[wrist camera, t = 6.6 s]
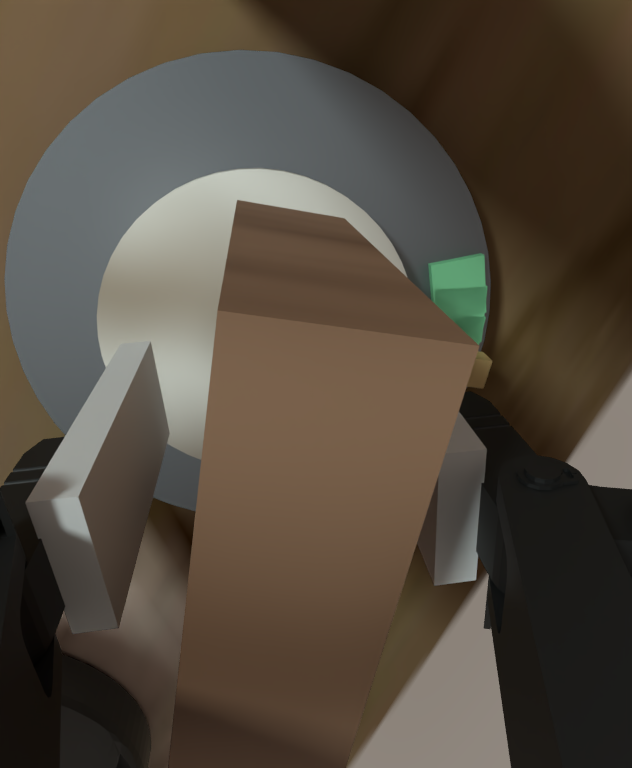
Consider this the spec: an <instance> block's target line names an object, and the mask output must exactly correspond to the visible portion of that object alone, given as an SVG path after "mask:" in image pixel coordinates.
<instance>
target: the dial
mask: <svg viewBox="0 0 632 768" xmlns="http://www.w3.org/2000/svg"><path fill="white" fill-rule="evenodd" d="M97 330H98V340H99V345H100V350H101V355H102V358H103V361H104V364H105V367H107V366H108V364H109V362H110V361H111V359H112V357H113V356H114V354H115V352H116V351H117V349H118V347H119V346H120V344H123V343H134V342H144V341H151V344H152V349H153V354H154V359H155V364H156V369H157V374H158V378H159V383H160V388H161V393H162V398H163V403H164V407H165V412H166V417H167V422H168V427H169V432H170V434H169V438H168V442H167V443H168V444H169V445H170V446H172V447H174V448H176V449H178V450H180V451H182V452H184V453H186V454H188V455H190V456H193V457H195V458H198V459H200V460H201V467H200V477H199V486H198V495H197V504H196V514H195V523H194V532H193V542H192V551H191V560H190V569H189V579H188V588H187V597H186V606H185V616H184V625H183V634H182V643H181V653H180V662H179V671H178V681H177V690H176V699H175V708H174V718H173V727H172V736H171V745H170V755H169V764H168V768H346V765H347V762H348V759H349V756H350V753H351V750H352V746H353V743H354V740H355V737H356V734H357V731H358V728H359V724H360V721H361V718H362V715H363V712H364V709H365V706H366V702H367V699H368V696H369V693H370V690H371V687H372V683H373V680H374V677H375V674H376V671H377V668H378V665H379V661H380V658H381V655H382V652H383V649H384V646H385V642H386V639H387V636H388V633H389V630H390V627H391V624H392V620H393V617H394V614H395V611H396V608H397V605H398V601H399V598H400V595H401V592H402V589H403V586H404V583H405V579H406V576H407V573H408V570H409V567H410V564H411V560H412V557H413V554H414V551H415V548H416V545H417V542H418V538H419V535H420V532H421V529H422V526H423V523H424V519H425V516H426V513H427V510H428V507H429V504H430V501H431V497H432V494H433V491H434V488H435V485H436V482H437V478H438V475H439V472H440V469H441V466H442V463H443V460H444V456H445V453H446V450H447V447H448V444H449V441H450V437H451V434H452V431H453V428H454V425H455V422H456V419H457V415H458V412H459V409H460V406H461V403H462V400H463V396H464V393H465V390H466V387H474V388H482V389H483V388H484V385H485V382H486V379H487V376H488V373H489V370H490V367H491V364H492V360H491V359H490V358H489V357H488V356H487V355H486V354H485V353H484V352H479V351H478V349H479V345H478V344H477V343H476V342H475V341H474V340H473V339H472V338H471V337H469V336H468V335H467V334H466V333H465V332H464V331H463V330H462V329H461V328H460V327H459V326H458V325H457V324H456V323H455V322H454V321H453V320H452V319H450V318H449V317H448V316H447V315H446V314H445V313H444V312H443V311H442V310H441V309H440V308H439V307H438V306H437V305H436V304H435V303H434V302H432V301H431V300H430V299H429V298H428V297H427V296H426V295H425V294H424V293H423V292H422V291H421V290H420V289H419V288H418V287H417V286H416V285H415V284H413V283H412V282H411V281H410V280H409V279H408V278H407V275H406V272H405V269H404V267H403V264H402V262H401V260H400V258H399V256H398V254H397V252H396V250H395V248H394V246H393V245H392V243H391V242H390V240H389V239H388V238H387V236H386V235H385V233H384V232H383V231H382V229H381V228H380V227H379V226H378V225H377V223H376V222H375V221H374V220H373V219H372V218H371V217H370V216H369V215H368V214H367V213H366V212H365V211H364V210H362V209H361V208H360V207H359V206H357V205H356V204H355V203H354V202H352V201H351V200H350V199H348V198H347V197H346V196H344V195H343V194H341V193H339V192H338V191H336V190H334V189H332V188H331V187H329V186H327V185H326V184H324V183H321V182H319V181H316V180H314V179H311V178H309V177H306V176H304V175H300V174H296V173H292V172H288V171H284V170H276V169H267V168H238V169H232V170H226V171H220V172H215V173H212V174H209V175H206V176H203V177H200V178H197V179H194V180H192V181H190V182H188V183H186V184H184V185H182V186H180V187H178V188H176V189H174V190H173V191H171V192H170V193H168V194H167V195H165V196H164V197H162V198H161V199H159V200H158V201H157V202H155V203H154V204H153V205H152V206H151V207H149V208H148V209H147V210H146V211H145V212H144V213H143V214H142V215H141V216H140V217H139V218H138V219H136V221H135V222H134V223H133V224H132V226H131V227H130V228H129V229H128V231H127V232H126V233H125V234H124V235H123V237H122V238H121V240H120V242H119V244H118V245H117V247H116V249H115V250H114V252H113V254H112V255H111V258H110V260H109V263H108V265H107V268H106V270H105V273H104V275H103V279H102V283H101V288H100V292H99V296H98V308H97Z"/></svg>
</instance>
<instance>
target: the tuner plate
mask: <svg viewBox="0 0 632 768" xmlns="http://www.w3.org/2000/svg"><path fill="white" fill-rule="evenodd" d="M238 168H267V169H276V170H284V171H288V172H292V173H296V174H300V175H304V176H306V177H309V178H311V179H314V180H316V181H319V182H321V183H324V184H326V185H327V186H329V187H331V188H332V189H334V190H336V191H338V192H339V193H341V194H343V195H344V196H346V197H347V198H348V199H350V200H351V201H352V202H354V203H355V204H356V205H357V206H359V207H360V208H361V209H362V210H364V211H365V212H366V213H367V214H368V215H369V216H370V217H371V218H372V219H373V220H374V221H375V222H376V223H377V225H378V226H379V227H380V228H381V229H382V231H383V232H384V233H385V235H386V236H387V238H388V239H389V240H390V242H391V243H392V245H393V246H394V248H395V250H396V252H397V254H398V256H399V258H400V260H401V262H402V264H403V267H404V269H405V272H406V275H407V278H408V279H409V280H410V281H411V282H412V283H413V284H415V285H416V286H417V287H418V288H419V289H420V290H421V291H422V292H423V293H424V294H425V295H426V296H427V297H428V298H429V299H430V300H431V301H432V302H434V303H435V304H436V305H437V306H438V307H439V308H440V309H441V310H442V311H443V312H444V313H445V314H446V315H447V316H448V317H449V318H450V319H452V320H453V321H454V322H455V323H456V324H457V325H458V326H459V327H460V328H461V329H462V330H463V331H464V332H465V333H466V334H467V335H468V336H469V337H471V338H472V339H473V340H474V341H475V342H476V343H477V344H478V345H479V349H478V351H479V352H481V349H482V346H483V343H484V340H485V334H486V328H487V323H488V317H489V310H490V288H491V280H490V268H489V257H488V250H487V245H486V241H485V236H484V232H483V228H482V223H481V220H480V218H479V215H478V212H477V210H476V207H475V204H474V202H473V199H472V196H471V194H470V191H469V190H468V188H467V186H466V184H465V182H464V180H463V178H462V177H461V175H460V173H459V171H458V169H457V167H456V166H455V164H454V162H453V161H452V160H451V158H450V157H449V156H448V154H447V153H446V152H445V150H444V149H443V148H442V146H441V145H440V144H439V142H438V141H437V139H436V138H435V137H434V136H433V135H432V134H431V133H430V132H429V131H428V130H427V129H426V128H425V127H424V126H423V125H422V124H421V123H420V122H419V121H418V120H417V119H416V118H415V117H414V116H413V115H412V114H411V112H409V111H408V110H407V109H405V108H404V107H403V106H401V105H400V104H399V103H397V102H396V101H395V100H393V99H392V98H391V97H390V96H388V95H387V94H386V93H384V92H383V91H382V90H380V89H378V88H376V87H374V86H373V85H371V84H369V83H367V82H365V81H363V80H362V79H360V78H358V77H356V76H354V75H352V74H351V73H349V72H346V71H343V70H340V69H338V68H335V67H332V66H330V65H327V64H324V63H321V62H319V61H316V60H313V59H308V58H303V57H298V56H293V55H289V54H284V53H279V52H266V51H248V50H234V51H224V52H213V53H203V54H198V55H194V56H190V57H186V58H182V59H178V60H174V61H170V62H166V63H163V64H161V65H158V66H156V67H154V68H151V69H149V70H147V71H144V72H142V73H140V74H137V75H135V76H133V77H130V78H128V79H127V80H125V81H124V82H122V83H120V84H119V85H117V86H116V87H114V88H112V89H111V90H109V91H108V92H106V93H104V94H103V95H101V96H100V97H98V98H97V99H96V100H94V101H93V102H92V103H91V104H90V105H89V106H88V107H86V108H85V109H84V110H83V111H82V112H81V113H79V114H78V115H77V116H76V117H75V118H74V119H73V120H71V121H70V122H69V123H68V125H67V126H66V127H65V128H64V129H63V131H62V132H61V133H60V134H59V135H58V137H57V138H56V139H55V140H54V141H53V143H52V144H51V145H50V146H49V147H48V149H47V150H46V151H45V153H44V155H43V156H42V158H41V160H40V161H39V163H38V165H37V166H36V168H35V170H34V171H33V173H32V175H31V176H30V178H29V180H28V182H27V184H26V187H25V189H24V192H23V194H22V197H21V199H20V202H19V204H18V207H17V209H16V211H15V215H14V219H13V224H12V228H11V232H10V236H9V240H8V245H7V256H6V268H5V292H6V308H7V315H8V319H9V324H10V329H11V334H12V339H13V343H14V346H15V348H16V351H17V354H18V357H19V360H20V362H21V365H22V368H23V371H24V373H25V375H26V377H27V379H28V381H29V383H30V384H31V386H32V388H33V390H34V392H35V394H36V396H37V398H38V400H39V401H40V402H41V404H42V405H43V407H44V408H45V410H46V411H47V413H48V414H49V415H50V417H51V418H52V420H53V421H54V423H55V424H56V425H57V426H58V427H59V428H60V430H61V431H62V432H63V433H64V434H65V435H66V434H67V432H68V431H69V429H70V427H71V426H72V424H73V422H74V421H75V419H76V417H77V416H78V414H79V412H80V411H81V409H82V407H83V406H84V404H85V402H86V401H87V399H88V397H89V396H90V394H91V392H92V391H93V389H94V387H95V386H96V384H97V382H98V381H99V379H100V377H101V376H102V374H103V372H104V371H105V369H106V367H105V364H104V361H103V358H102V355H101V350H100V345H99V340H98V330H97V308H98V296H99V292H100V288H101V283H102V279H103V275H104V273H105V270H106V268H107V265H108V263H109V260H110V258H111V255H112V254H113V252H114V250H115V249H116V247H117V245H118V244H119V242H120V240H121V238H122V237H123V235H124V234H125V233H126V232H127V231H128V229H129V228H130V227H131V226H132V224H133V223H134V222H135V221H136V219H138V218H139V217H140V216H141V215H142V214H143V213H144V212H145V211H146V210H147V209H148V208H149V207H151V206H152V205H153V204H154V203H155V202H157V201H158V200H159V199H161V198H162V197H164V196H165V195H167V194H168V193H170V192H171V191H173V190H174V189H176V188H178V187H180V186H182V185H184V184H186V183H188V182H190V181H192V180H194V179H197V178H200V177H203V176H206V175H209V174H212V173H215V172H220V171H226V170H232V169H238ZM466 388H467V387H466ZM200 467H201V460H200V459H198V458H195V457H193V456H190V455H188V454H186V453H184V452H182V451H180V450H178V449H176V448H174V447H172V446H170V445H169V444H168V443H167V445H166V449H165V453H164V457H163V461H162V464H161V468H160V472H159V476H158V480H157V483H156V487H155V491H154V495H153V497H154V498H156V499H159V500H161V501H164V502H166V503H169V504H172V505H175V506H179V507H183V508H186V509H190V510H193V511H196V504H197V495H198V486H199V477H200Z"/></svg>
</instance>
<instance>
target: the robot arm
mask: <svg viewBox="0 0 632 768" xmlns="http://www.w3.org/2000/svg"><path fill="white" fill-rule="evenodd" d="M169 434H170V432H169V427H168V422H167V417H166V412H165V407H164V403H163V398H162V393H161V388H160V383H159V378H158V374H157V369H156V364H155V359H154V354H153V349H152V344H151V341H144V342H134V343H123V344H120V346H119V347H118V349H117V351H116V352H115V354H114V356H113V357H112V359H111V361H110V362H109V364H108V366H107V367H106V369H105V371H104V372H103V374H102V376H101V377H100V379H99V381H98V382H97V384H96V386H95V387H94V389H93V391H92V392H91V394H90V396H89V397H88V399H87V401H86V402H85V404H84V406H83V407H82V409H81V411H80V412H79V414H78V416H77V417H76V419H75V421H74V422H73V424H72V426H71V427H70V429H69V431H68V432H67V434H66V436H65V437H60V438H51V439H43V440H42V441H41V442H39V443H38V444H36V445H35V446H34V447H32V448H31V449H30V450H28V451H27V452H26V453H24V454H23V456H22V457H21V459H20V460H19V462H18V463H17V464H16V466H15V467H14V469H13V472H11V473H10V475H9V476H8V477H7V479H6V480H5V482H4V485H3V486H1V488H0V768H148V762H149V756H150V749H151V737H150V731H149V727H148V724H147V721H146V718H145V716H144V714H143V712H142V711H141V709H140V708H139V706H138V704H137V703H136V702H135V701H134V699H133V698H132V697H131V696H130V695H129V694H128V693H127V692H126V691H125V690H124V689H123V688H122V687H121V686H120V685H118V684H117V683H116V682H115V681H113V680H112V679H111V678H109V677H108V676H106V675H105V674H103V673H101V672H100V671H98V670H96V669H94V668H93V667H91V666H89V665H87V664H85V663H82V662H80V661H78V660H75V659H73V658H70V657H67V656H65V655H62V652H61V649H60V645H59V642H58V640H57V637H56V634H55V632H56V629H57V627H58V624H59V622H60V619H61V616H62V614H63V611H64V612H65V614H66V617H67V620H68V623H69V625H70V628H71V631H72V634H77V633H85V632H92V631H100V630H107V629H115V628H119V625H120V621H121V617H122V613H123V609H124V605H125V602H126V598H127V594H128V590H129V586H130V583H131V579H132V575H133V571H134V567H135V564H136V560H137V556H138V552H139V548H140V544H141V541H142V537H143V533H144V529H145V525H146V522H147V518H148V514H149V510H150V506H151V503H152V499H153V495H154V491H155V487H156V483H157V480H158V476H159V472H160V468H161V464H162V461H163V457H164V453H165V449H166V445H167V442H168V438H169ZM417 544H418V547H419V549H420V552H421V554H422V557H423V559H424V562H425V564H426V567H427V569H428V572H429V574H430V577H431V579H432V582H433V584H434V586H436V585H444V584H451V583H459V582H466V581H474V580H476V574H477V562H478V556H479V558H480V559H481V561H482V563H483V565H484V567H485V569H486V571H487V573H488V574H489V580H488V591H487V601H486V611H485V621H484V628H485V629H490V628H491V629H492V636H493V643H494V650H495V657H496V664H497V671H498V677H499V685H500V692H501V699H502V706H503V713H504V720H505V727H506V734H507V741H508V748H509V755H510V762H511V768H632V489H620V488H607V487H598V486H592V485H588V483H587V481H586V479H585V478H584V477H583V476H582V474H581V473H580V472H579V471H578V470H577V469H575V468H574V467H572V466H570V465H569V464H567V463H565V462H562V461H560V460H557V459H554V458H551V457H544V456H537V455H536V453H535V452H534V451H533V450H532V449H531V448H530V447H529V445H528V444H527V443H526V442H525V441H524V440H523V439H522V437H521V436H520V435H519V434H518V433H517V432H516V431H515V430H514V428H513V427H512V426H509V423H508V422H507V420H506V419H505V418H504V417H503V416H500V412H499V411H498V410H497V409H496V408H495V407H494V406H493V405H492V403H491V402H490V401H488V400H487V399H485V398H483V397H481V396H479V395H477V394H475V393H473V392H471V391H470V392H465V393H464V396H463V400H462V403H461V406H460V409H459V412H458V415H457V419H456V422H455V425H454V428H453V431H452V434H451V437H450V441H449V444H448V447H447V450H446V453H445V456H444V460H443V463H442V466H441V469H440V472H439V475H438V478H437V482H436V485H435V488H434V491H433V494H432V497H431V501H430V504H429V507H428V510H427V513H426V516H425V519H424V523H423V526H422V529H421V532H420V535H419V538H418V542H417Z"/></svg>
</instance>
